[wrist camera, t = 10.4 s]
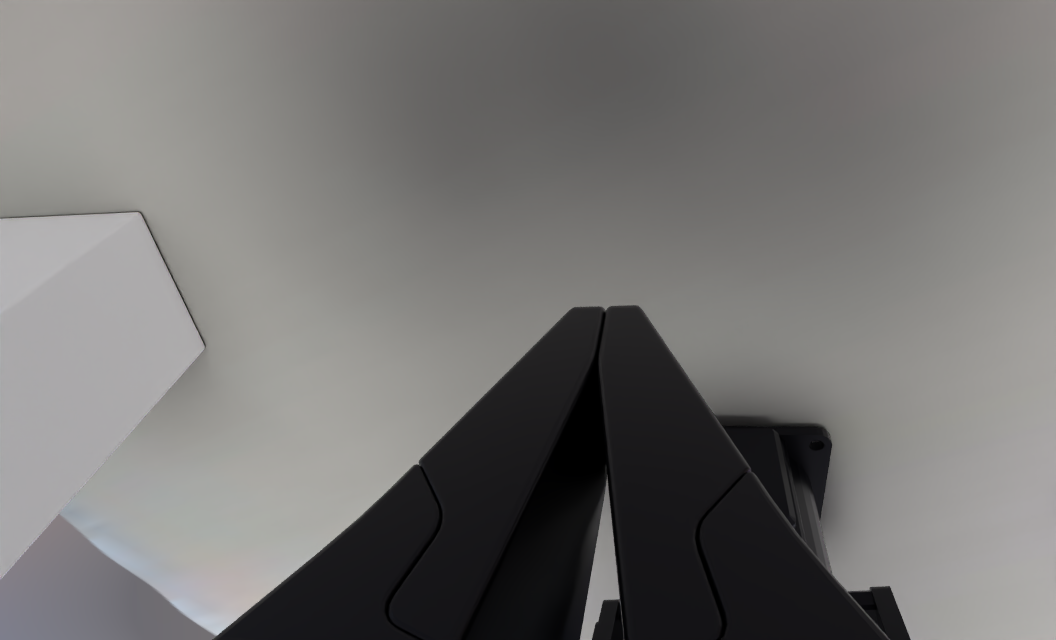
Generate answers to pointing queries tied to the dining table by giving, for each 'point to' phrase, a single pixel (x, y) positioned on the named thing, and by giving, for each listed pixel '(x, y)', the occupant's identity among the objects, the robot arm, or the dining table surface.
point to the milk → (78, 356)
